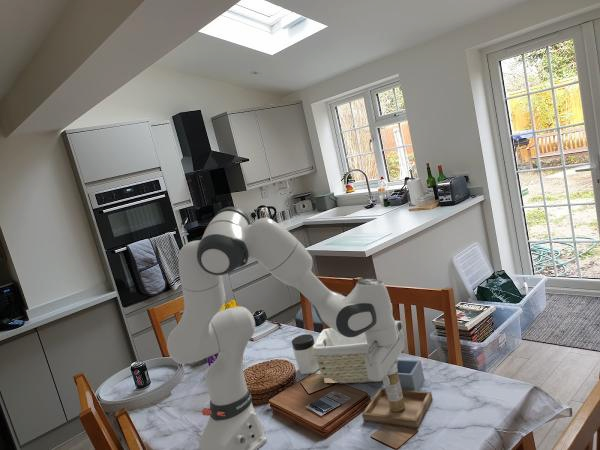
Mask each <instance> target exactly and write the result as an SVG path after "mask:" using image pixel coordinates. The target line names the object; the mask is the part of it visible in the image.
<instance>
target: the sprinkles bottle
mask: <svg viewBox="0 0 600 450" xmlns="http://www.w3.org/2000/svg"><path fill="white" fill-rule="evenodd" d="M387 376H388V377H390V379H391V383H390V385H388V386H387V385H384V386H385V387H384V388H386V393H387V398H388V401H389V405H390V406H389V407H390V409H391V410H392V411H395V412H398V411H401V410H403V409H404V408H405V404H404V400H403V394H402V390H401V385H400V380H399V377H398V373H397V366H396V363H393V365H392V366H391V368H390V369H389V370H388V374H387Z"/></svg>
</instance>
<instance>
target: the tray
mask: <svg viewBox="0 0 600 450" xmlns="http://www.w3.org/2000/svg"><path fill="white" fill-rule="evenodd" d="M401 390H402V389H401ZM402 394H403V400H404V404H405V408H404V409H403V410H401V411H398V412H395V411H392V410H391V409H390V407H389V406H390V405H389V401H388V398H387V393H386V388H385V387H380V388H379V389H378V390H377V392H376V393H375V395H374V396H373V398H372V399H371V400H370V402H369V404H368V405H367V406H366V408H365V409H364V411H363V412H362V413H361V414H362V415H361V416H362V419H363V422H364V423H365V422H366V423H370V424H371V423H372V424H380V425H387V426H394V427H400V426H403V427H402V428H408V427H411V428H410V429H417V430H418V429H419V428H420V425H421V424H422V422H423V420H424V417H425V415H426V413H427V412H428V409H429V407H431V406H430V405H431V403H432V401H433V400H434V398H433V394H432V391H425V390H424V391H423V390H418V391H414V390H402ZM404 426H405V427H404Z"/></svg>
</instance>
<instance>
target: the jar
mask: <svg viewBox="0 0 600 450" xmlns="http://www.w3.org/2000/svg"><path fill="white" fill-rule="evenodd" d="M314 344H315V338H314V336H313V335H312V334H308V333H305V334H301V335H298V336H296V337H294V338H293V339H292V340H291V345H292V350H293V354H294V357H295V361H296V366H297V369H298V371H299V373H300V374H301V375H308V374H309V375H311V374H314V373H316V371H318V370H320V369H319V366H318V362H317V361H316V357H315V356H314V355H313V346H314ZM310 373H311V374H310Z"/></svg>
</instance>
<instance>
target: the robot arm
mask: <svg viewBox="0 0 600 450" xmlns="http://www.w3.org/2000/svg"><path fill="white" fill-rule="evenodd" d="M249 259H253V260H255V261H257V262H258V263H259V264H260V265H261V266H262V267H263V268H264V269H265V270H266V271H268V273H270V274H271V275H272V276H273V277H274V278H276V279H277V280H279V281H280V282H281V283H283V284H285V285H286V286H290V287H294V288H295V289H296V290H297V291H298V292H299V293H301V295H303V296H304V298H305V299H307V301H308V302H309V303H310V304H312V306H313V309H314V311H315V314H316V316H317V318H318V320H319V321H320V323H322V324H323V325H325V326H327V327H329V328H332V329H334V330H335V331H337V332H338V333H340V334H341V335H343V336H346V337H356V336H358V335H360V334H362V333H364V332H365V335H366V340H367V343H368V344H369V345H371V346H370V347H369V348H368V352H367V353H366V355H365V364H366V371H367V377H368V379H369V380H371V381H378V382H382V383H383V386H385V385H387V386H388V385H390V383H391V379H390V377H388V376H387V374H388V370H389V369H390V368H391V366H392V365H393V363H396V366H397V363H398V359H399V358H398V357H399V356H400V355H401V354H402V352H403V351H404V349H405V344H406V343H405V337H404V330H403V329H402V328H403V322H402V320H395V318H394V316H393V314H392V308H393V307H392V302H391V298H390V295H389V291H388V289H387V287H386V284H385V282H383V281H382V280H379V279H375V278H363V279H360V280H358V281H357V282H356V285H355V286H354V288H353V289H352V290H351V291H350V293H349V294H347V296H346V295H344V294H342V293H340V292H337V291H335V290H331V289H329V288H328V287H327V286H326V285H325V284H324V283H323V282H322V281H321V280H320V279H319V278H318V277H317V276H316V275H315V274H314V273H313V271H312V268H313V263H314V262H313V258H312V255H311V254H310V253H309V251H308V249H306V247H305V246H304V245H303V244H302V243H301V242H300V241H299V240H298V238H297V237H296V236H294V235H293V234H292V233H291V232H290V231H289V230H287V229H286V228H285V227H284V226H282V225H281V224H280V223H278V222H276V221H275V220H273V219H272V218H269V217H262V218H258V219H256V220H254V221H253V222H251V220H250V217H249V215H248V214H247V213H246V212H245V211H244V209H243V210H242V208H239V207H236V206H226V207H224V208H222V209H220V210H219V211H217V213H216V214H215V215H214V216H213V217H212V219H211V220H210V222H209V224H208V225H207V226H206V228H205V230H204V233H203V235H202V238H201V239H199V240H198V239H197V240H192V241H189V242H186V243H185V244H184V245H183V246H182V247H181V248H180V250H179V252H178V273H179V279H180V280H179V281H180V286H181V290H182V296H183V305H184V307H183V308H184V309H183V313H182V315H181V318H180V319H179V321H178V323H177V325H176V326H175V327H174V329H172V331H171V332H169V335H168V338H167V343H166V349H167V353H168V354H169V356H170V357H171V359H172V361H174V362H176V363H177V364H179V365H186V364H190V363H195V362H199V361H201V360H204V359H206V358H208V357H211V356H213V355H217V354H218V355H217V357H216V359H215V361H214V362H212V364H211V365H210V366H209V367H208V369H207V371H206V373H205V377H204V382H205V384H206V388H207V391H208V395H209V398H210V400H209V408H207V407H203V408H202V410H201V414H202V415H203V416H207V417H209V419H208V420H207V422H206V425H205V428H204V429H203V432H202V434H201V436H200V437H199V438H200V439H199V440H198V448H199V449H198V450H258V449H259V448H260V447H262V446H263V445H265V444H266V443H267V442H268V438H267V437H266V434H265V432H266V430H265V427H264V425H263V424H262V423H261V420H260V418H259V417H258V415H257V413H256V410H255V408H254V405H253V402H252V401H253V399H252V394H251V392H250V389H249V387H248V385H247V382H246V378H245V372H244V366H243V358H244V354H245V350H246V347H247V345H248V343H249V341H250V340H251V338H252V337H253V335H254V333H255V330H256V321H255V318H254V315H253V314H252V313H251V311H250V310H249V309H248V308H246V307H244V306H234V307H230V308H225V309H222V308H223V307H224V304H225V301H226V291H225V286H224V278H223V276H224V275H228V274H230V273H231V272H233V271H235V270H236V269H238V268H241V267H244V266H246V265H247V263H248V261H249ZM397 373H398V369H397ZM381 380H383V381H381Z"/></svg>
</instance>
